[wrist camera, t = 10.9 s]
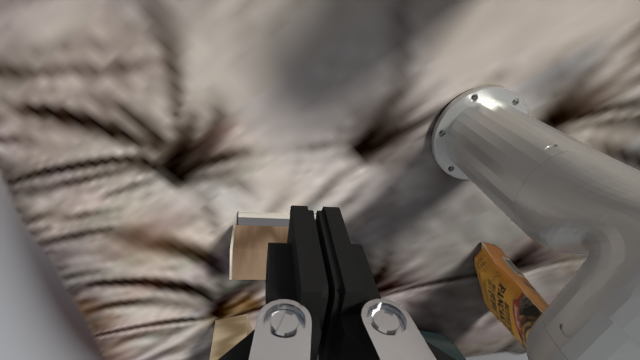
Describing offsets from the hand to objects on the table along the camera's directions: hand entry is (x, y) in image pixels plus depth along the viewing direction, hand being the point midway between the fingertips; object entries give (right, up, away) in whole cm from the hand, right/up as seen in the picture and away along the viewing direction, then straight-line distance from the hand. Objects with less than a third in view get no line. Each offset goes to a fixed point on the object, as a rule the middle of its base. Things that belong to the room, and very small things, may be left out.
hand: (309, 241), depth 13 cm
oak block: (-13, -22, +46) cm, 52 cm away
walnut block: (-11, -7, +35) cm, 37 cm away
